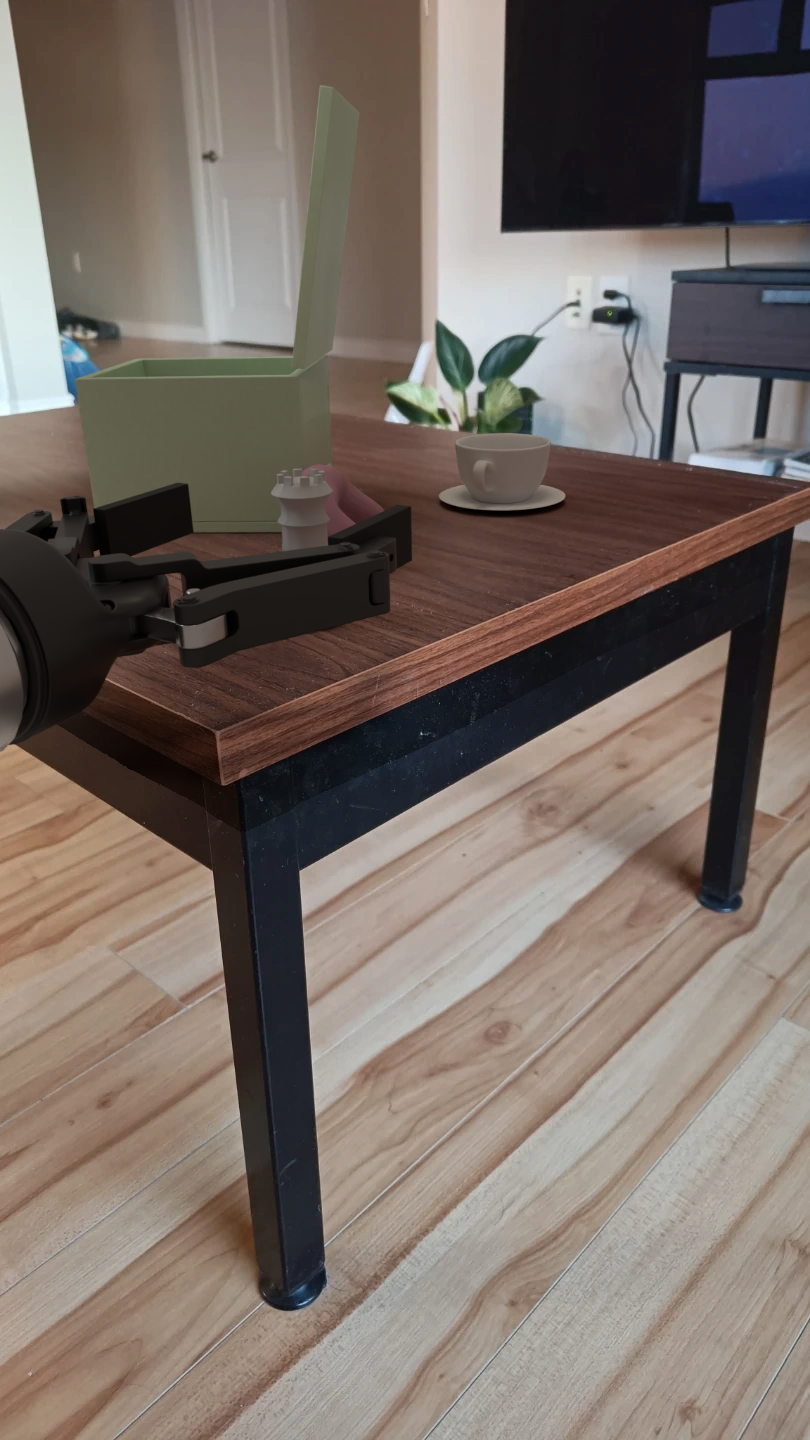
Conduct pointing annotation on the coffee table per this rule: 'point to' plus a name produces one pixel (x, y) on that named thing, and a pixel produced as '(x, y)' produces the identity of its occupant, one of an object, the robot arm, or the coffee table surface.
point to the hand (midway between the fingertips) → (289, 519)
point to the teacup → (502, 473)
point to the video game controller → (344, 501)
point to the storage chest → (206, 433)
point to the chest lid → (325, 226)
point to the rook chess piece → (302, 508)
